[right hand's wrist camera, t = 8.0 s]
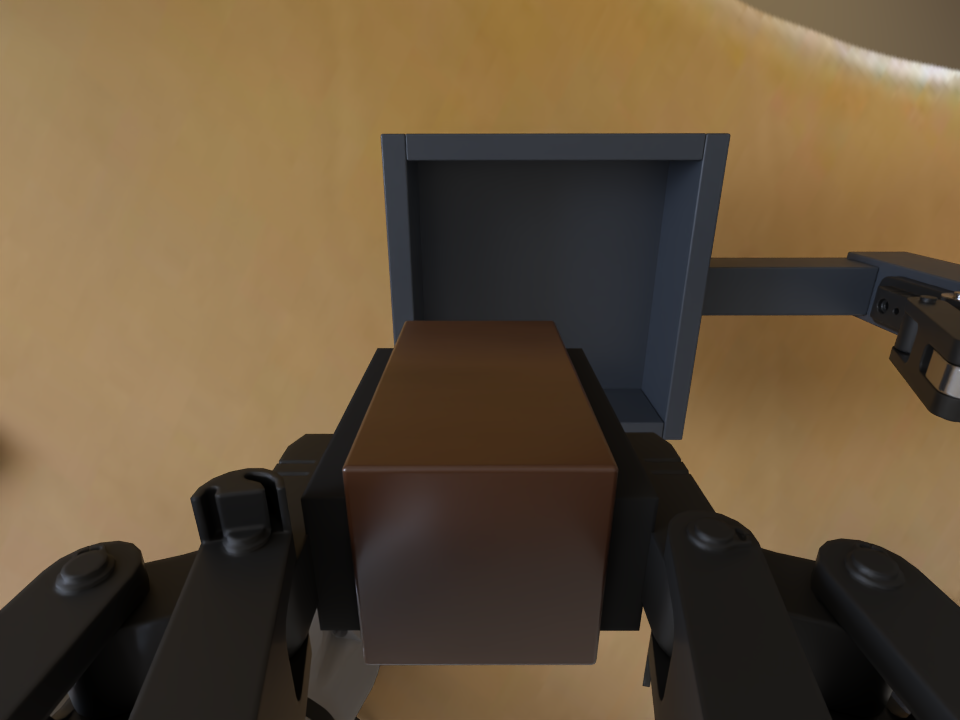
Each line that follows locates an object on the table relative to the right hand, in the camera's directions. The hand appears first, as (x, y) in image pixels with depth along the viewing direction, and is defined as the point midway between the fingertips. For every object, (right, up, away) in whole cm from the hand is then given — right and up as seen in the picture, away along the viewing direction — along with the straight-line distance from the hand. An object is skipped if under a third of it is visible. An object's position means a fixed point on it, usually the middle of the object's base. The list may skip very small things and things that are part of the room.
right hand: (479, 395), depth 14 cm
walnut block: (0, 0, 0) cm, 0 cm away
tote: (+9, +5, +13) cm, 17 cm away
